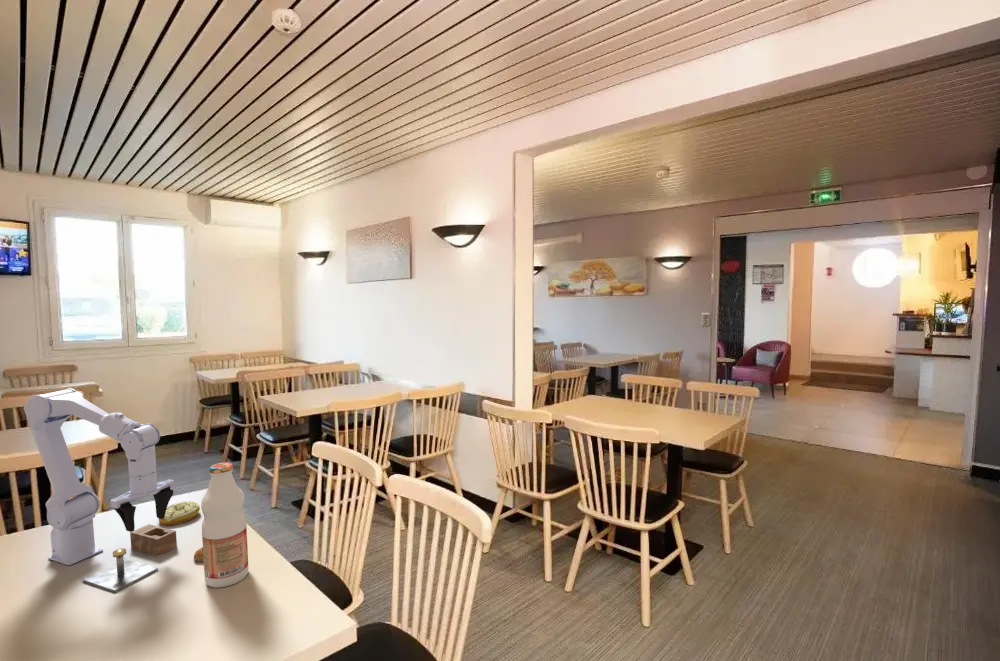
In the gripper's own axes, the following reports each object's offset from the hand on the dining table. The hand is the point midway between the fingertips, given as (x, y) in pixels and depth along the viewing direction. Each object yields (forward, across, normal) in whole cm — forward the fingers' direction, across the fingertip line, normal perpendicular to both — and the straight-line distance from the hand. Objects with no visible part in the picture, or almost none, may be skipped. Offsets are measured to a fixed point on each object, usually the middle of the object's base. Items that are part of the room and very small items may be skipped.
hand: (145, 524), depth 129 cm
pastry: (+10, +9, -15) cm, 20 cm away
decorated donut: (+10, +19, +16) cm, 27 cm away
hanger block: (+10, +4, +5) cm, 12 cm away
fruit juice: (+10, +2, -26) cm, 28 cm away
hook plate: (+10, -7, -2) cm, 12 cm away
